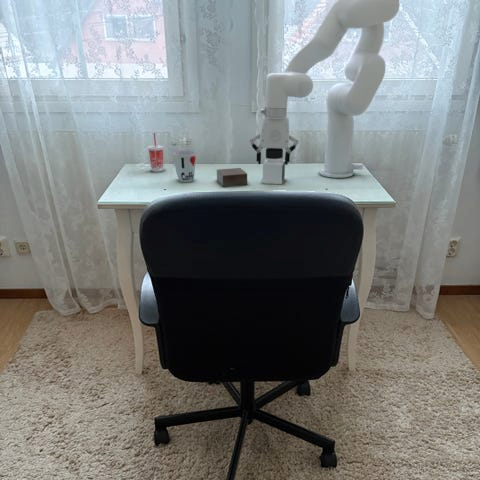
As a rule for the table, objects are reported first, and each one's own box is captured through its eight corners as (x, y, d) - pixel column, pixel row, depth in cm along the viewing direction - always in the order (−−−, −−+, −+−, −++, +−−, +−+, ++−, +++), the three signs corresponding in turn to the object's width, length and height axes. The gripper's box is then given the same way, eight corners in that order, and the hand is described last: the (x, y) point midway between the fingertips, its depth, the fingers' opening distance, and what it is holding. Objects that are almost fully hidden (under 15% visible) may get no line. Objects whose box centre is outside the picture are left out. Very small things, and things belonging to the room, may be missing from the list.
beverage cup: (166, 168, 206) (163, 131, 199) (164, 172, 201) (161, 134, 194) (150, 168, 206) (147, 131, 199) (148, 172, 201) (145, 134, 194)
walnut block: (240, 178, 192) (240, 167, 190) (247, 184, 185) (247, 173, 183) (216, 180, 190) (216, 169, 188) (223, 187, 183) (222, 175, 181)
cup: (179, 184, 186) (178, 156, 181) (171, 179, 192) (169, 151, 187) (200, 181, 189) (199, 153, 184) (191, 176, 196) (190, 149, 191)
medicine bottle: (282, 184, 185) (283, 150, 179) (262, 183, 186) (263, 149, 180) (284, 179, 191) (285, 145, 185) (265, 178, 192) (265, 145, 186)
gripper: (250, 113, 173) (249, 165, 182) (302, 115, 174) (297, 166, 182) (250, 110, 180) (248, 161, 188) (299, 112, 180) (295, 162, 189)
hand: (272, 163), depth 185 cm, fingers open, 9 cm apart
